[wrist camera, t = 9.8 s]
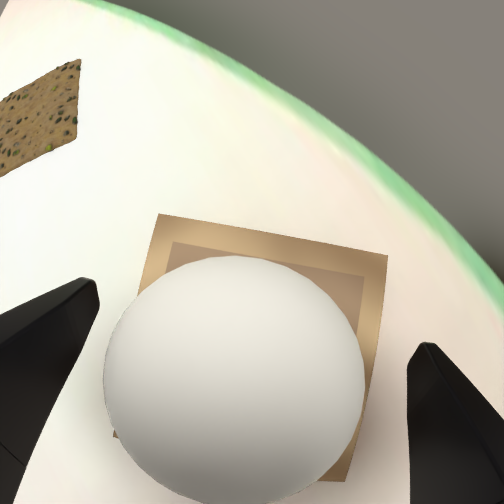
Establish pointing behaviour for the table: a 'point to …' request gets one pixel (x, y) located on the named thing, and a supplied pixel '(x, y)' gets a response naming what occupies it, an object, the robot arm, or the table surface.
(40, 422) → the robot arm
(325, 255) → the plinth
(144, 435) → the lightbulb
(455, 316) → the table surface
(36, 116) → the cookie
